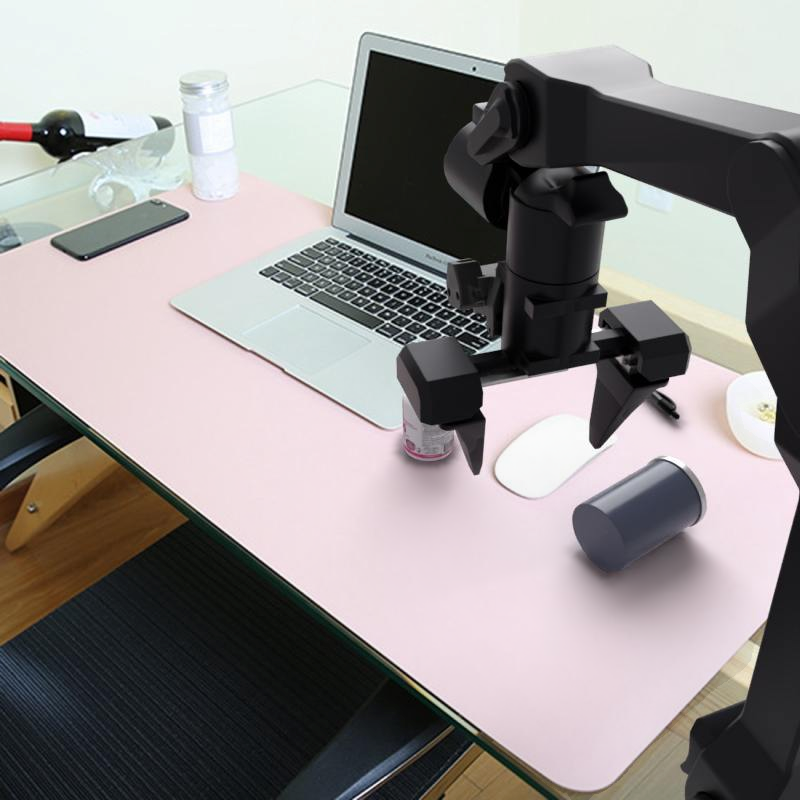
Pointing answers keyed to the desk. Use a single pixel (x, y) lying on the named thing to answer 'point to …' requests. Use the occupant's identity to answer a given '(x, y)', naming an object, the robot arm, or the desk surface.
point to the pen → (665, 404)
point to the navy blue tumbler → (639, 513)
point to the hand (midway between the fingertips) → (535, 458)
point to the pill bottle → (424, 436)
